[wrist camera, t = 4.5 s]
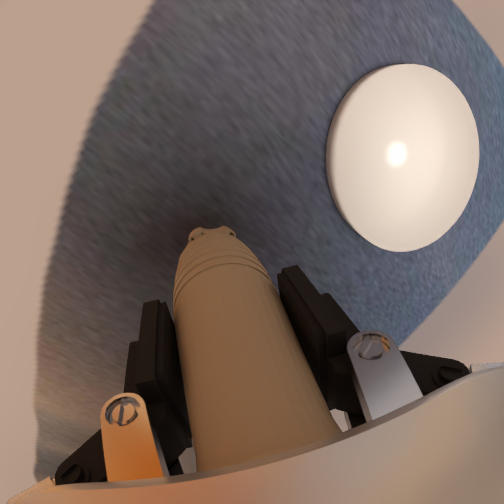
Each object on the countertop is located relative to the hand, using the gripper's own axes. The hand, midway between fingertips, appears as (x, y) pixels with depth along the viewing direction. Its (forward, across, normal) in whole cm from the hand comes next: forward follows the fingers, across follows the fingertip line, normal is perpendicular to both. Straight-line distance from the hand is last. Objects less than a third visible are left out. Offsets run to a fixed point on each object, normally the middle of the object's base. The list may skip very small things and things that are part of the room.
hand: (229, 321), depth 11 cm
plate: (+10, -15, -2) cm, 18 cm away
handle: (+7, 0, 0) cm, 7 cm away
